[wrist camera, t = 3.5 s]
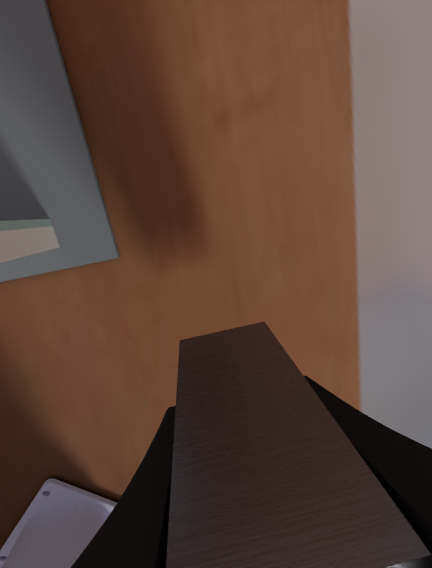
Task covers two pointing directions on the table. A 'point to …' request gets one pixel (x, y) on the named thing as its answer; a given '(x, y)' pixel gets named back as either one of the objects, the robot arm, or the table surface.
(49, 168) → the mat
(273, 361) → the block
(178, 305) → the table surface
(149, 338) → the table surface
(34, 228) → the tile
